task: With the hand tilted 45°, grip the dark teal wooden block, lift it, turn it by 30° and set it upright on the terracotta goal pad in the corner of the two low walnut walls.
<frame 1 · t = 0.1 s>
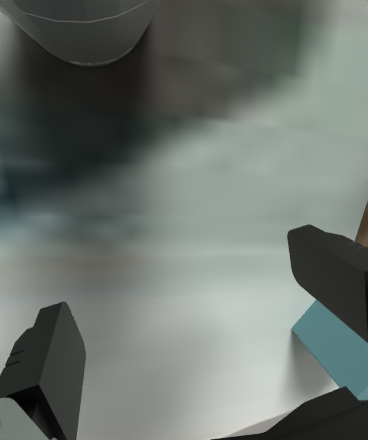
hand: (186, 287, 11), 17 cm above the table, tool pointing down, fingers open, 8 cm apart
teal block: (318, 321, 38), on the table
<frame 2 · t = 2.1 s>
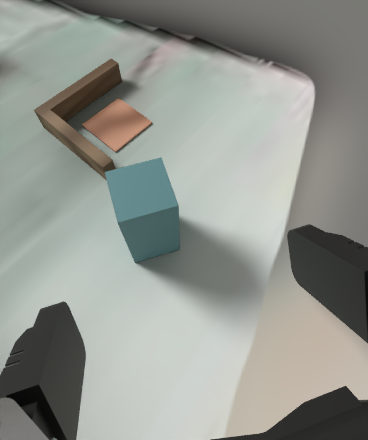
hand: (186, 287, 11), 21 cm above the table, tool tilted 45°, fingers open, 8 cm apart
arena: (117, 124, 42), on the table
teal block: (151, 235, 35), on the table
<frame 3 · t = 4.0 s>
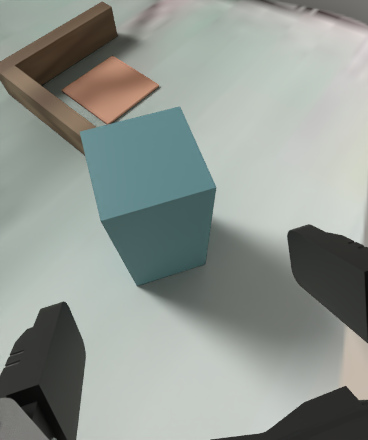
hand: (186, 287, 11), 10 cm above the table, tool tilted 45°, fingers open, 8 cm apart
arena: (110, 88, 30), on the table
teal block: (161, 243, 23), on the table
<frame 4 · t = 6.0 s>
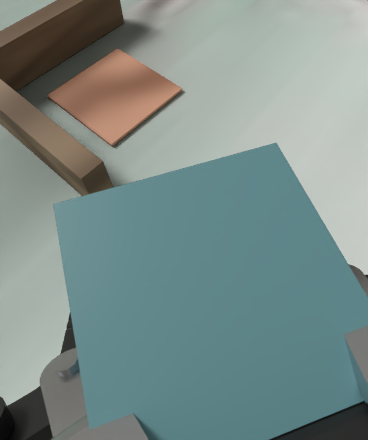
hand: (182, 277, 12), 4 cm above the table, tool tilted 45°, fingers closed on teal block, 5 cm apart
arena: (115, 94, 22), on the table
teal block: (196, 340, 15), on the table, touching gripper
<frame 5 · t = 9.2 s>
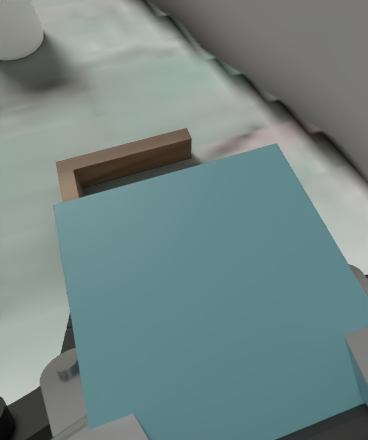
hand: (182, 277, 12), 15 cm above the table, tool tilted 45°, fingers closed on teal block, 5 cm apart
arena: (150, 218, 30), on the table
cup: (8, 36, 43), on the table
teal block: (197, 340, 15), point 11 cm above the table, touching gripper
when the fingers open (6 cm above the table, at t = 12.5 s): teal block drops 1 cm, resting on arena.
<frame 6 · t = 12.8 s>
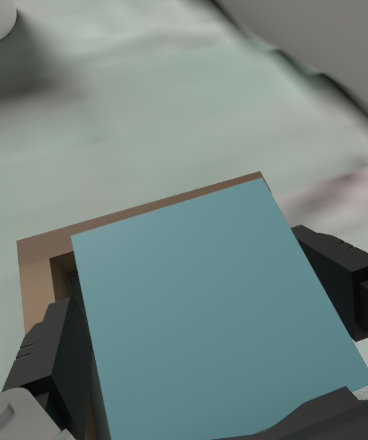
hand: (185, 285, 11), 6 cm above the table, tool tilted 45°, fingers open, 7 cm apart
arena: (195, 343, 16), on the table
teal block: (196, 345, 16), resting on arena
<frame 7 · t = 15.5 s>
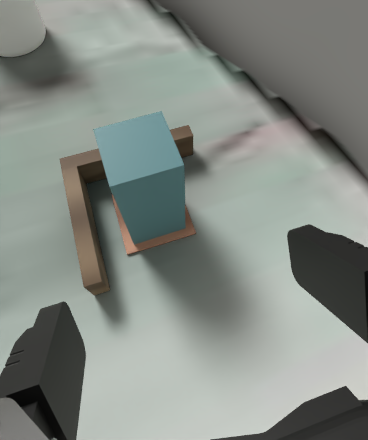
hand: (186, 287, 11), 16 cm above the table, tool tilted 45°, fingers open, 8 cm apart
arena: (152, 214, 30), on the table
cup: (10, 33, 43), on the table
teal block: (152, 213, 30), resting on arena
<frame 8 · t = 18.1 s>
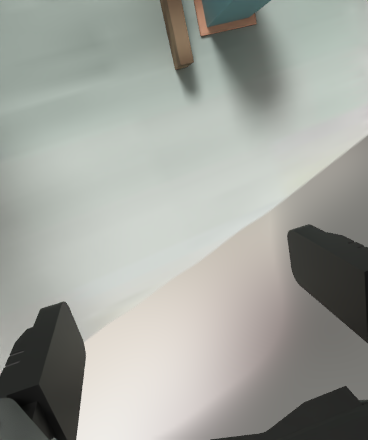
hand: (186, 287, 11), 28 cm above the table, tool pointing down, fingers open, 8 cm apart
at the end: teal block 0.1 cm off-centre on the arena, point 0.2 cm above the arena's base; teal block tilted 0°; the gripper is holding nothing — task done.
